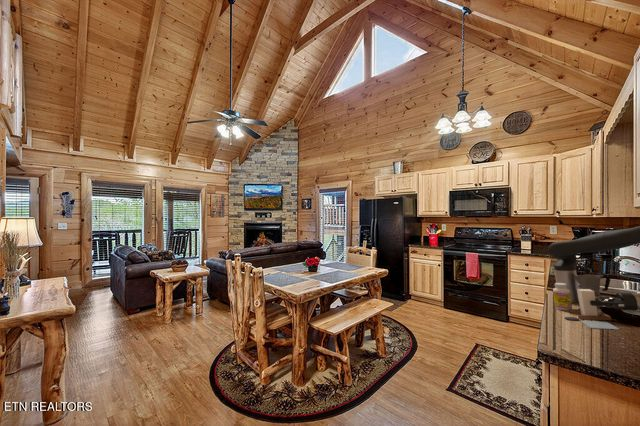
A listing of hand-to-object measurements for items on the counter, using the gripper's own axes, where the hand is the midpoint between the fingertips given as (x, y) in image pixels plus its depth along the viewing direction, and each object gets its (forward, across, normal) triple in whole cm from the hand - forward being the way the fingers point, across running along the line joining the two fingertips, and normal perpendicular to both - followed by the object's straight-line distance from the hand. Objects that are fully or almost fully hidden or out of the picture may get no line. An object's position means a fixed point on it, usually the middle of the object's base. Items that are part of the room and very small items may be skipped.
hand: (586, 300), depth 129 cm
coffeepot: (-10, -21, +7) cm, 25 cm away
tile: (+2, +14, +7) cm, 16 cm away
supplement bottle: (+6, -11, +7) cm, 14 cm away
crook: (-3, -10, +7) cm, 13 cm away
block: (0, 0, +7) cm, 7 cm away
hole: (+8, +6, +7) cm, 13 cm away
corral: (0, 0, +7) cm, 7 cm away
